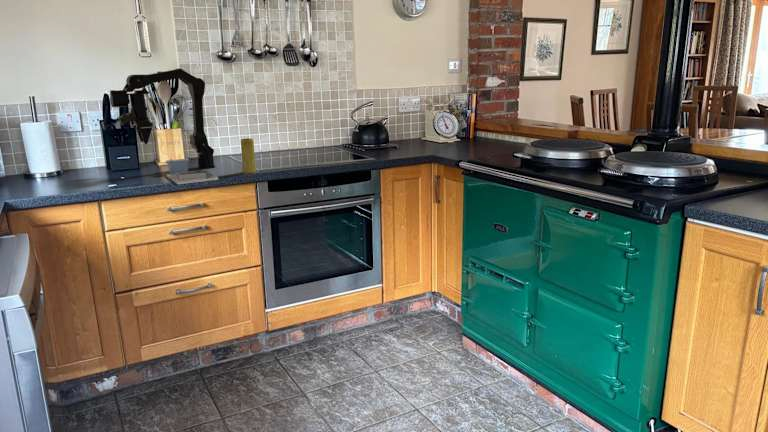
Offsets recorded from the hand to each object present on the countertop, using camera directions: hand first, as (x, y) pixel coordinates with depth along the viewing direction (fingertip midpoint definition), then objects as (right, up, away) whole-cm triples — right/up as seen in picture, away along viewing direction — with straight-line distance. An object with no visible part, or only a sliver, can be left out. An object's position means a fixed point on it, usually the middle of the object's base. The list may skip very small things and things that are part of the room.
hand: (144, 142), depth 243 cm
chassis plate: (+23, -15, -7) cm, 28 cm away
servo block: (+13, -13, +4) cm, 19 cm away
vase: (+44, -12, +4) cm, 46 cm away
